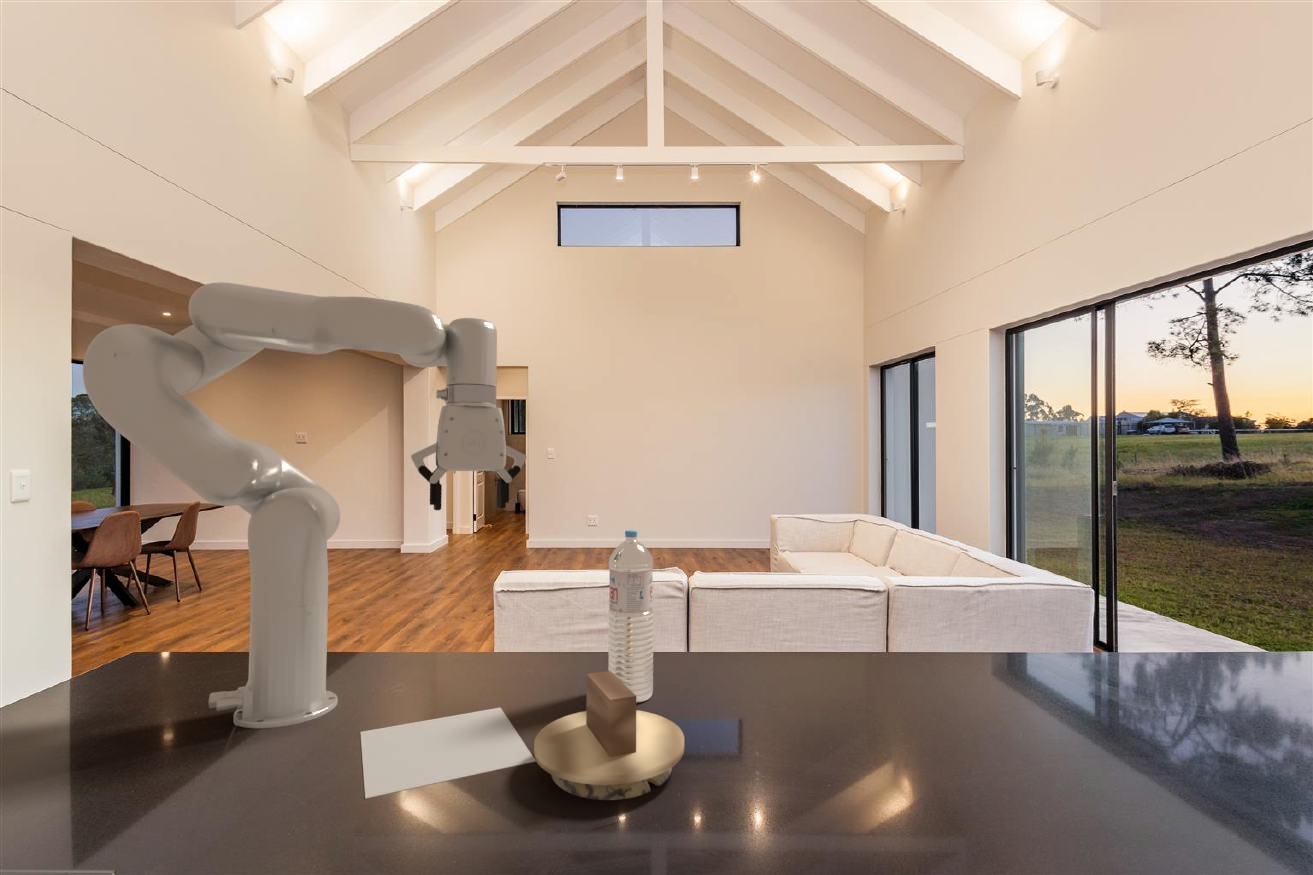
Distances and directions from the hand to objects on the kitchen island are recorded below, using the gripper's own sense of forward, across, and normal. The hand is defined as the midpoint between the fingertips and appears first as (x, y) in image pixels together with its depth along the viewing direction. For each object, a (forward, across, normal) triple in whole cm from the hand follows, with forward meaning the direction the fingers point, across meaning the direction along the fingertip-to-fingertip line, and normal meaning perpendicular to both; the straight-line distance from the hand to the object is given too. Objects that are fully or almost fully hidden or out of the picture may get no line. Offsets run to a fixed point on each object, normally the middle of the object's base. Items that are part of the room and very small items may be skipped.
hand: (469, 508), depth 96 cm
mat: (+28, -6, -18) cm, 34 cm away
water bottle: (+28, +22, -12) cm, 38 cm away
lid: (+25, +10, -32) cm, 42 cm away
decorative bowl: (+29, +10, -32) cm, 45 cm away
